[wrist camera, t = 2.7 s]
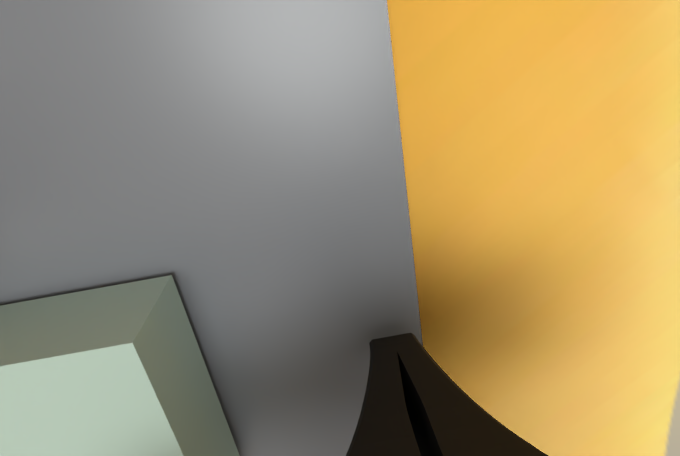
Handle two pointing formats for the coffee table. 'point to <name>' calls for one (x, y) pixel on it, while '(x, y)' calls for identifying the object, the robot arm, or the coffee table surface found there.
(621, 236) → the coffee table surface
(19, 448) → the pale green square block
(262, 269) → the pin board
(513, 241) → the coffee table surface
